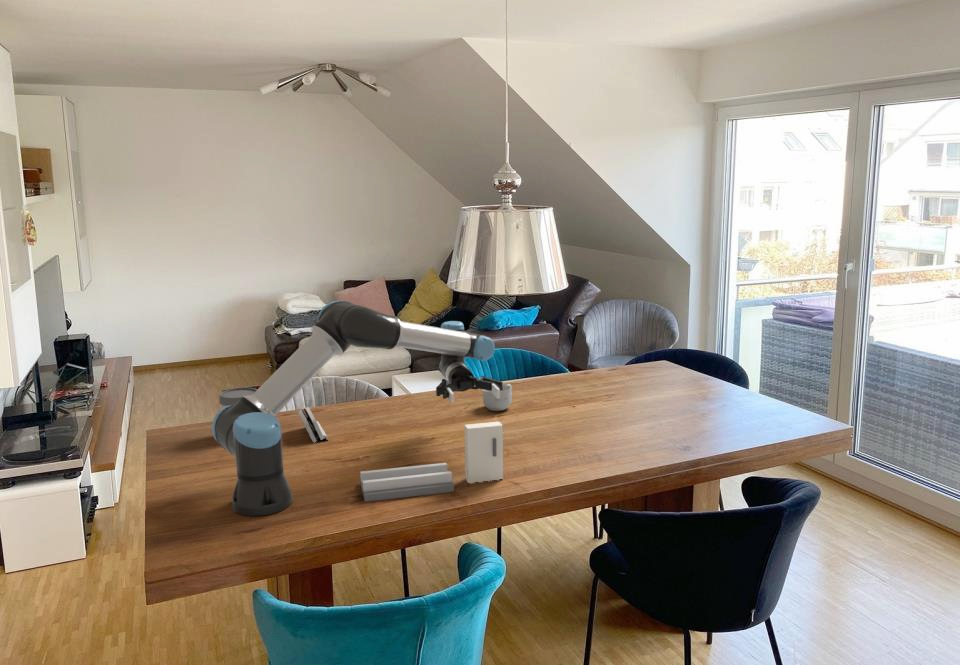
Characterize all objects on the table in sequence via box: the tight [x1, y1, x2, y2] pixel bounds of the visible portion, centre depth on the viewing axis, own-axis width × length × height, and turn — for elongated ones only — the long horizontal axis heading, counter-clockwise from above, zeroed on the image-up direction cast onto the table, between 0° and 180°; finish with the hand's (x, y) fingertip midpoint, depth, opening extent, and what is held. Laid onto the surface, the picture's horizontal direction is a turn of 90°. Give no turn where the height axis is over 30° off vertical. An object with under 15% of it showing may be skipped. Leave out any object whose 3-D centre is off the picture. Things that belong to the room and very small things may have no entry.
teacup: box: [481, 383, 513, 412], centre depth 279 cm, size 14×11×8 cm
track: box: [359, 462, 455, 503], centre depth 210 cm, size 24×12×4 cm, turn 104°
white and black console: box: [297, 406, 329, 443], centre depth 253 cm, size 17×5×10 cm, turn 22°
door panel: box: [464, 421, 504, 484], centre depth 213 cm, size 10×4×16 cm, turn 104°
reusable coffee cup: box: [219, 386, 258, 409], centre depth 251 cm, size 13×12×15 cm
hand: (476, 396), depth 220 cm, fingers open, 13 cm apart
